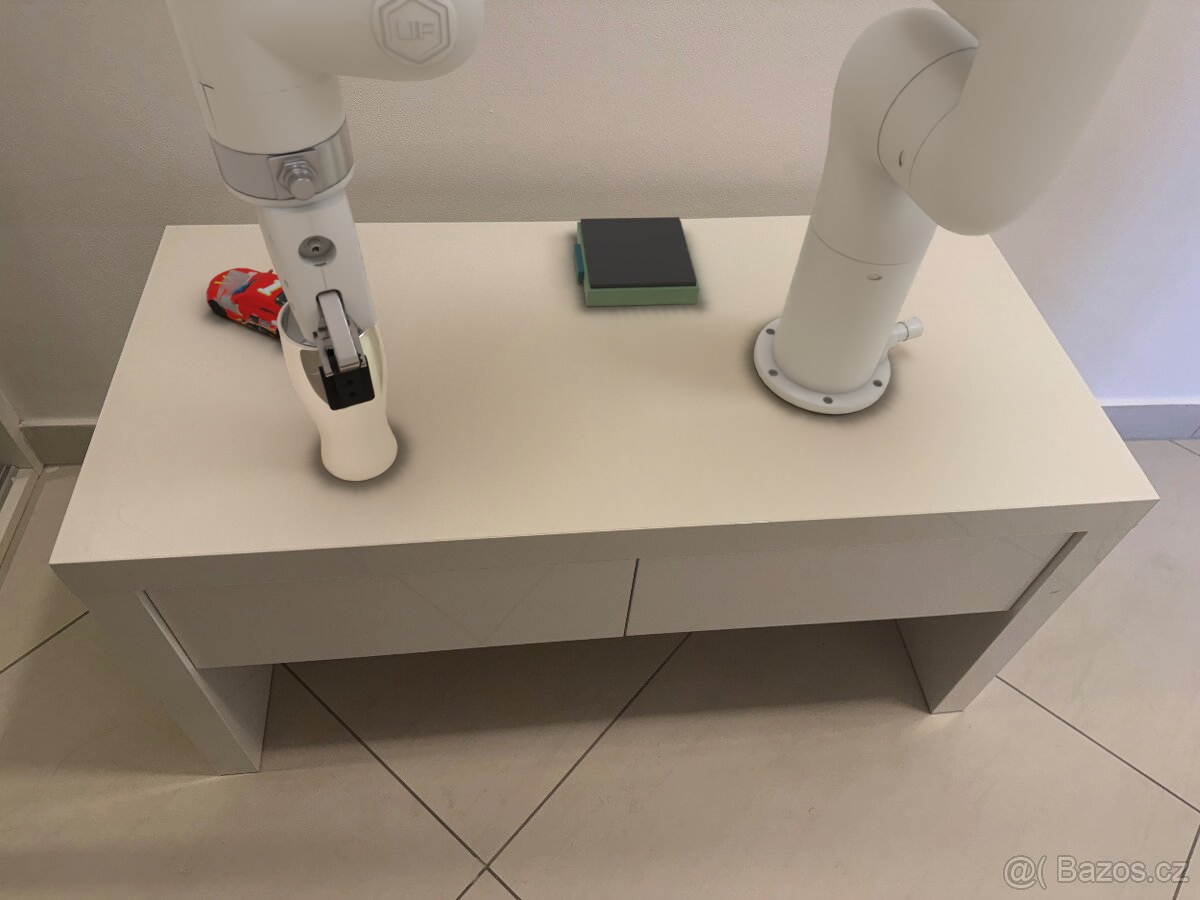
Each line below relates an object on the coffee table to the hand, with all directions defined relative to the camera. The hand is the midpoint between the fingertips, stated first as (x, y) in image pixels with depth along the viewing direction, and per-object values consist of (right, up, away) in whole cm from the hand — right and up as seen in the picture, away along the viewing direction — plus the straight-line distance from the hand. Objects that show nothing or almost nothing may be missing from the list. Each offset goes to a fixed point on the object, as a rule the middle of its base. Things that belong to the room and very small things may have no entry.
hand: (338, 365), depth 63 cm
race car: (-11, +6, +18) cm, 22 cm away
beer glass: (-1, -7, +8) cm, 10 cm away
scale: (+23, +12, +25) cm, 36 cm away
